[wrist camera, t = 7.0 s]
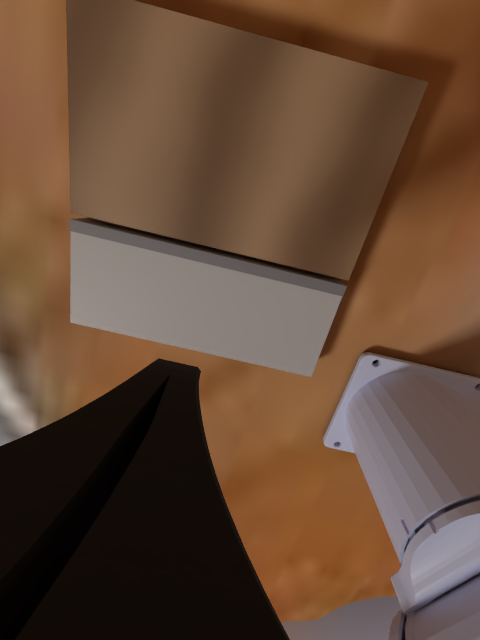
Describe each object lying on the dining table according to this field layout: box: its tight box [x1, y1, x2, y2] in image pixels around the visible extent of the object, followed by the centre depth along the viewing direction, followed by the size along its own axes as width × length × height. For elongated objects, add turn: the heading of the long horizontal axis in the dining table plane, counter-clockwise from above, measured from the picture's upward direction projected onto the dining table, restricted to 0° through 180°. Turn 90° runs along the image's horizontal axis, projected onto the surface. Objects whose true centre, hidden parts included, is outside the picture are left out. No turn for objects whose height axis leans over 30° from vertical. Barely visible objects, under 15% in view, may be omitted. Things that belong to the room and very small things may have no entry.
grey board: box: [70, 218, 347, 377], centre depth 17 cm, size 15×6×2 cm, turn 77°
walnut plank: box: [66, 0, 429, 281], centre depth 14 cm, size 15×9×2 cm, turn 77°
